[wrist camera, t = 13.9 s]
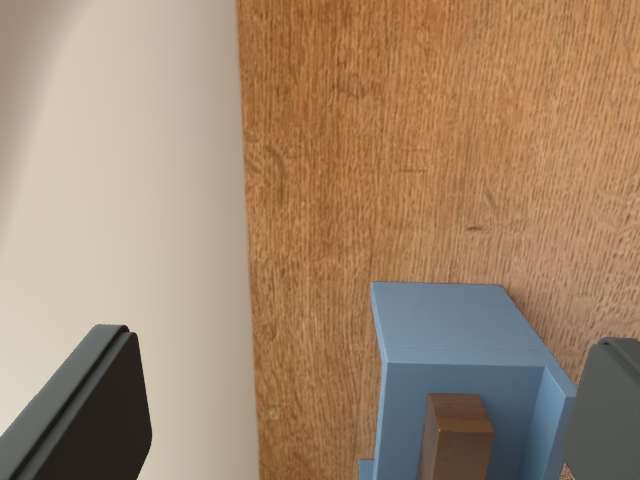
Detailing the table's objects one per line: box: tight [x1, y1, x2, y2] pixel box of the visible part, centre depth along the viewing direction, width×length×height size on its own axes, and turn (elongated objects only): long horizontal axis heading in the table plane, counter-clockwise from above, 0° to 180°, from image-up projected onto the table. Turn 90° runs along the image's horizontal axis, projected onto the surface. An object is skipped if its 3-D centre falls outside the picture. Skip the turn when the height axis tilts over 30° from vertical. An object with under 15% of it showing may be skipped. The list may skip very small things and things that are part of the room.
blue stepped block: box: [358, 282, 578, 480], centre depth 34 cm, size 10×20×12 cm, turn 179°
